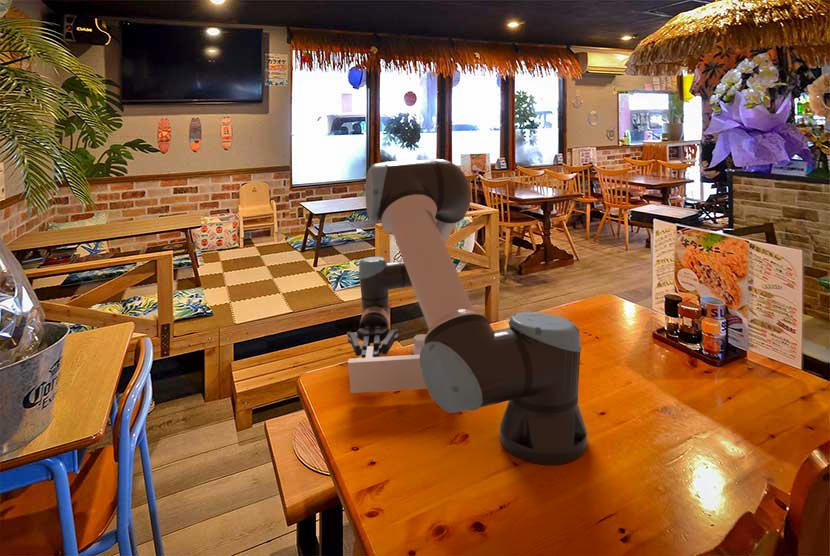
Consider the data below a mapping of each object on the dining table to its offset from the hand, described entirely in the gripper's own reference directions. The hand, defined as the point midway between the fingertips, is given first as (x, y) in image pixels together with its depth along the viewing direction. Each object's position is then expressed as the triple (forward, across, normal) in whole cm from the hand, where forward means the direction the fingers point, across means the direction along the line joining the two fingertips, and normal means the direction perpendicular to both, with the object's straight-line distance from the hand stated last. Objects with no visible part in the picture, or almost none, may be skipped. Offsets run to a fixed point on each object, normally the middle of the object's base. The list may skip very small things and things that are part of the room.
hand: (369, 363), depth 108 cm
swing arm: (+3, -6, -5) cm, 8 cm away
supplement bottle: (-7, -12, -7) cm, 16 cm away
